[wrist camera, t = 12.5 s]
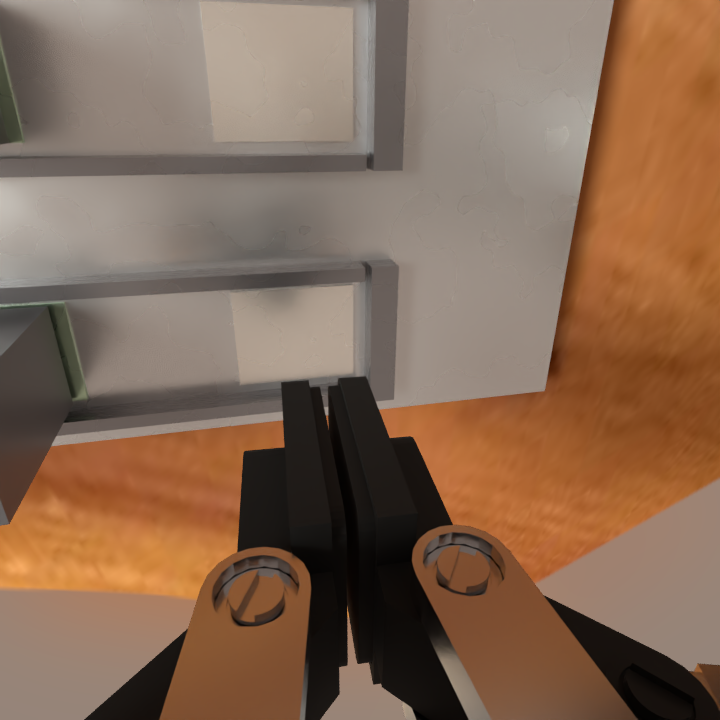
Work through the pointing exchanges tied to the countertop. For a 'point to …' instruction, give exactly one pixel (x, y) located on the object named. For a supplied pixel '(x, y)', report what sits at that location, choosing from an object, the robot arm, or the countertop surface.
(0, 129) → the handle
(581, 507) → the countertop surface
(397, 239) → the panel
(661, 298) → the countertop surface
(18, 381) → the handle
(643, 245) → the countertop surface
